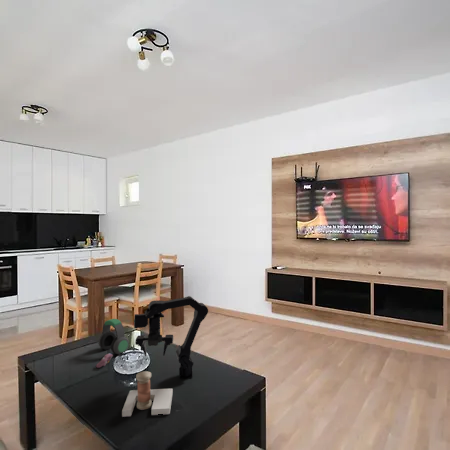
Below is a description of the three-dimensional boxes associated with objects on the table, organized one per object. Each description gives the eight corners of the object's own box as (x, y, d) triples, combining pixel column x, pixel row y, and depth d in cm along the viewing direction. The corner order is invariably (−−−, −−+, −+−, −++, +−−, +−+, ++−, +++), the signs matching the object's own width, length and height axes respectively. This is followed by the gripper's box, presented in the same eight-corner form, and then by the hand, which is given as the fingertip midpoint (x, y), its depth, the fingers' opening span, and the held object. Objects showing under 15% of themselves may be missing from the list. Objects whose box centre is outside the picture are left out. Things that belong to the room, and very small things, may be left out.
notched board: (172, 393, 154) (172, 388, 154) (169, 414, 138) (169, 408, 138) (130, 395, 152) (130, 390, 152) (122, 416, 136) (122, 410, 136)
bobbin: (147, 399, 149) (147, 369, 149) (154, 405, 144) (153, 375, 144) (134, 404, 145) (133, 374, 145) (140, 411, 140) (139, 380, 139)
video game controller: (101, 371, 179) (106, 360, 179) (94, 367, 180) (99, 356, 179) (110, 363, 189) (115, 353, 188) (104, 359, 190) (109, 349, 189)
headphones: (96, 350, 203) (96, 319, 203) (111, 344, 212) (111, 315, 212) (115, 358, 192) (115, 325, 192) (130, 351, 201) (130, 320, 201)
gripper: (133, 332, 156) (133, 363, 157) (171, 331, 158) (171, 362, 158) (137, 324, 168) (137, 354, 168) (173, 323, 169) (173, 352, 170)
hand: (154, 355), depth 166 cm, fingers open, 9 cm apart
